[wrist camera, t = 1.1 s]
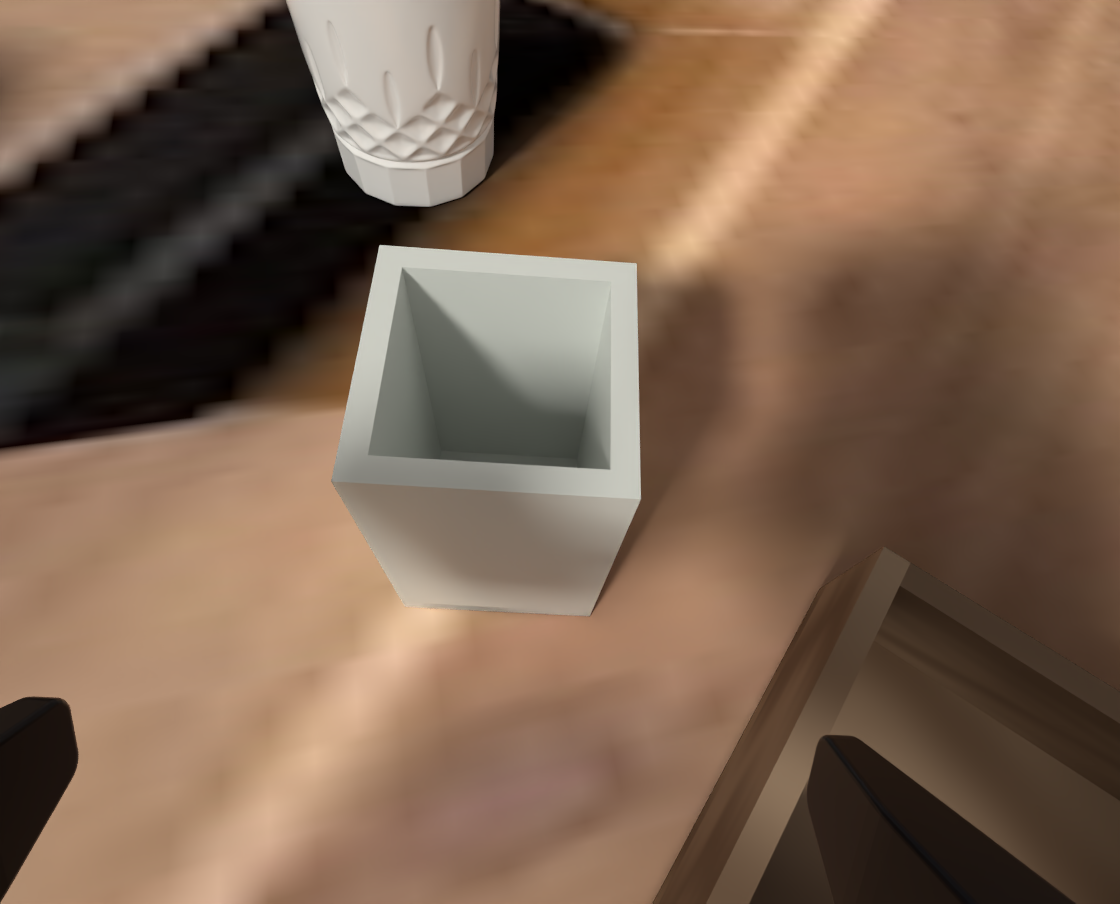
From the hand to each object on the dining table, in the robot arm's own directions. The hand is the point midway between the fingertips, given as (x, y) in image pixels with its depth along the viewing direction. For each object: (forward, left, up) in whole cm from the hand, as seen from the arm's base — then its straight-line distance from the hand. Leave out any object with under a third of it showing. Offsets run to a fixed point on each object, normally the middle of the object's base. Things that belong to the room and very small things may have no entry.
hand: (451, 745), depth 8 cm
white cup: (+18, +18, -13) cm, 29 cm away
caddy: (+6, +4, -13) cm, 15 cm away
